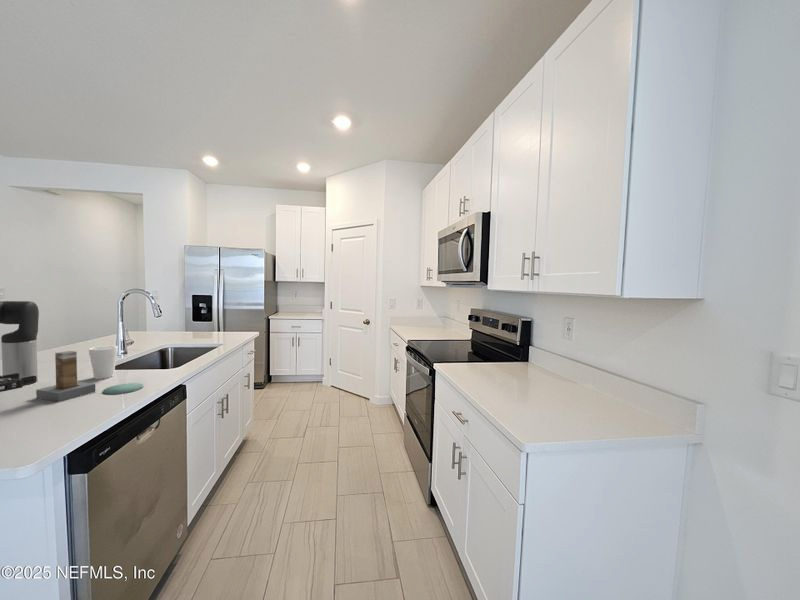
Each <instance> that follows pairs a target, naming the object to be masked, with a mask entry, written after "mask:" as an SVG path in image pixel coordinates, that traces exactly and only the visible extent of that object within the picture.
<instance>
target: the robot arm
mask: <svg viewBox="0 0 800 600" xmlns="http://www.w3.org/2000/svg"><path fill="white" fill-rule="evenodd" d="M39 314H40V312H39V306H38V305H37V303H35V302H34V301H29V300H27V301H26V300H25V301H23V300H22V301H21V300H19V301H18V300H17V301H16V300H7V301H6V300H3V301H0V324H3V325H18V328H17V329H16V330H14V331H12V332H7V333H5V334H2V335H1V337H0V338H1V339H0V340H1V341H0V343H1V363H2V364H1V366H2V367H1V368H2V371H1V372H2V375H0V393H1V392H7V391H12V390H17V389H21V388H23V386H26V385H30V384H34V383H37V382H38V381H39V377H38V376H39V374H38V346H37V345H38V342H37V341H38V340H37V339H38V337H37V336H38V332H39V316H40V315H39Z"/></svg>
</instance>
